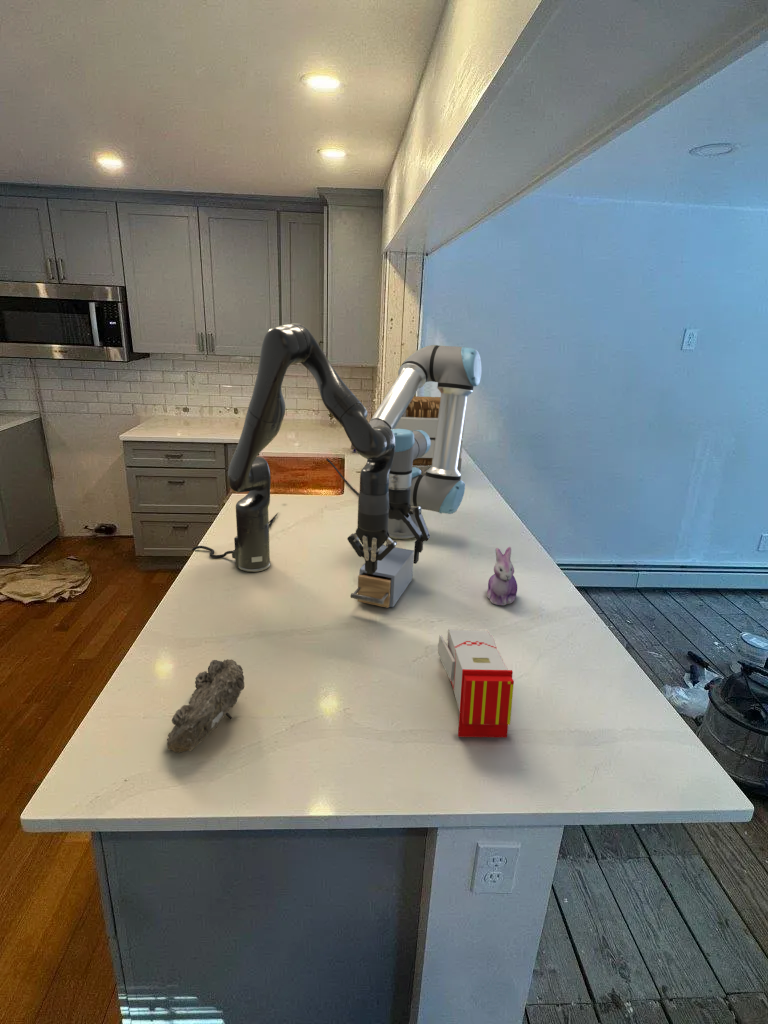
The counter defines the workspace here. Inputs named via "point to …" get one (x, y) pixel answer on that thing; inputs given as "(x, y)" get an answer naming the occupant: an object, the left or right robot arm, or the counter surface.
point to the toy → (478, 682)
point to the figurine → (502, 580)
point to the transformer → (424, 424)
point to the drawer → (373, 590)
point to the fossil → (206, 705)
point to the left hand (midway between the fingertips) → (370, 572)
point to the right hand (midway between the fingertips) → (393, 557)
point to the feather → (272, 520)
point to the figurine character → (352, 448)
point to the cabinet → (395, 570)
